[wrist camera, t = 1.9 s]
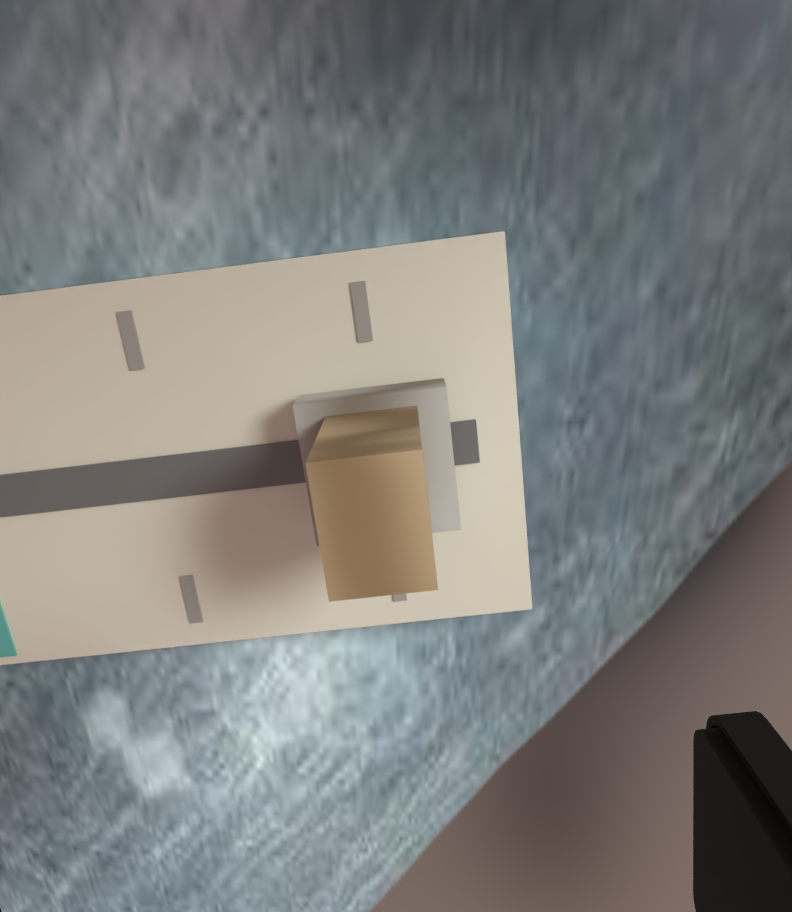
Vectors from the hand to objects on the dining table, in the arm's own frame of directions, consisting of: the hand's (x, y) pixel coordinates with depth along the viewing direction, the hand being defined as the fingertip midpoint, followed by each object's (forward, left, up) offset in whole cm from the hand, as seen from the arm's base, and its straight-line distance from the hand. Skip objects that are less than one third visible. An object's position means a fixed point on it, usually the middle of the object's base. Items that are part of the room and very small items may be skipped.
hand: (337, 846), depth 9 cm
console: (+8, 0, -20) cm, 21 cm away
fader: (0, 0, -16) cm, 16 cm away
